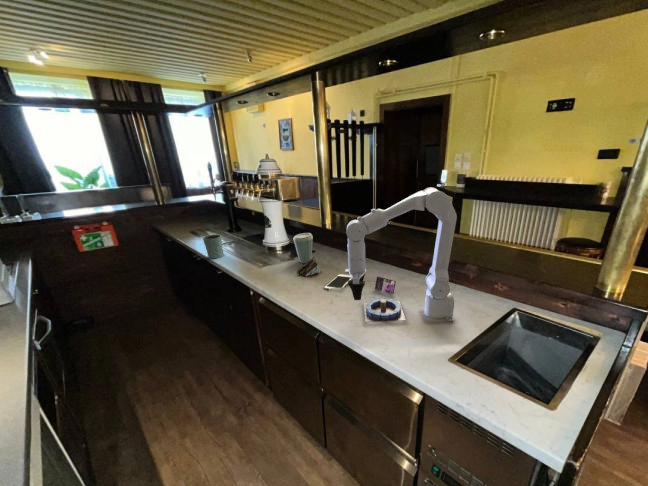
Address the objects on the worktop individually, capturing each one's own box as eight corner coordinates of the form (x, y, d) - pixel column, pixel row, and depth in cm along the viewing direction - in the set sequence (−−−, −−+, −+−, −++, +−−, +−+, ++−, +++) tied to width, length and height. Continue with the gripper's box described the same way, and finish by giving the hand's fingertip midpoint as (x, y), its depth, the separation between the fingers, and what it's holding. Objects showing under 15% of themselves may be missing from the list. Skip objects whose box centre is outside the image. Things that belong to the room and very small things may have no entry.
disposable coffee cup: (296, 265, 162) (293, 238, 155) (295, 259, 171) (292, 233, 165) (316, 263, 164) (313, 236, 157) (313, 256, 173) (311, 231, 167)
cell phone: (354, 277, 143) (354, 275, 143) (340, 291, 130) (340, 289, 130) (339, 275, 146) (339, 274, 146) (324, 288, 133) (324, 287, 133)
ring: (398, 302, 116) (398, 298, 115) (403, 319, 104) (403, 314, 104) (365, 303, 116) (365, 299, 115) (367, 320, 105) (367, 316, 104)
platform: (399, 304, 117) (399, 291, 115) (405, 323, 104) (406, 309, 102) (363, 306, 117) (363, 293, 115) (365, 325, 105) (364, 311, 102)
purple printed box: (376, 276, 126) (394, 281, 121) (382, 276, 130) (400, 281, 125) (373, 291, 127) (391, 297, 122) (379, 291, 132) (397, 296, 126)
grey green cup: (210, 253, 187) (205, 235, 182) (227, 252, 188) (223, 233, 183) (205, 259, 178) (200, 239, 173) (222, 258, 178) (218, 238, 173)
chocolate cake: (302, 280, 144) (318, 260, 144) (294, 272, 148) (309, 253, 148) (313, 286, 152) (328, 267, 152) (305, 279, 156) (320, 261, 156)
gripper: (346, 250, 106) (348, 285, 111) (342, 265, 93) (344, 304, 98) (366, 250, 105) (367, 285, 111) (365, 265, 92) (366, 304, 98)
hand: (358, 294), depth 105 cm, fingers open, 7 cm apart
